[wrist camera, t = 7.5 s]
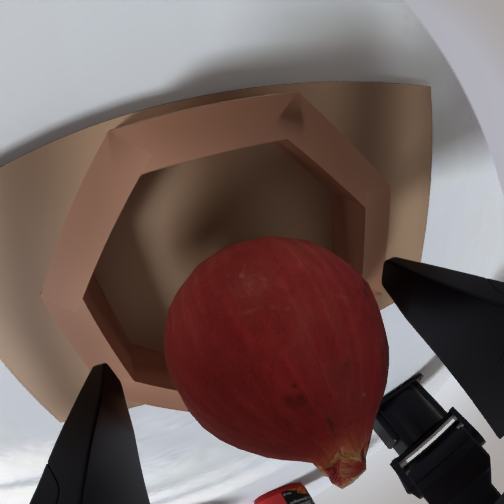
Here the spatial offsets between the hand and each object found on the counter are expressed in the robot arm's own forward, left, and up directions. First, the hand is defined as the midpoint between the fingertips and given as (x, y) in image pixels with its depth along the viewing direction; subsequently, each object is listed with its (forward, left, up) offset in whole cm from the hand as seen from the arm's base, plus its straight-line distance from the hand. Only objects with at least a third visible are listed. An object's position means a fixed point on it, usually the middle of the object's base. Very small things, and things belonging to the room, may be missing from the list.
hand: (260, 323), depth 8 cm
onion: (0, 0, -3) cm, 3 cm away
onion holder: (0, 0, -4) cm, 4 cm away
